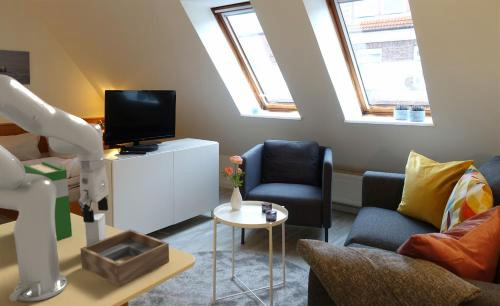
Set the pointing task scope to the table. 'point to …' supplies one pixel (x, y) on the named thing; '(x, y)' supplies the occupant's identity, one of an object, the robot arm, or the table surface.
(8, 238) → the table surface
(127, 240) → the socket box
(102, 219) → the skincare box
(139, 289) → the table surface
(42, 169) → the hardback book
